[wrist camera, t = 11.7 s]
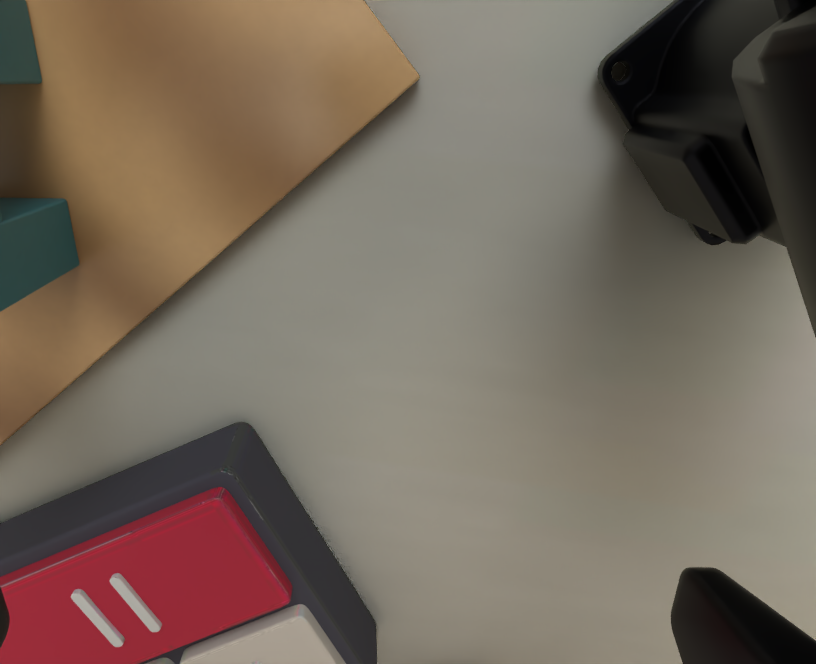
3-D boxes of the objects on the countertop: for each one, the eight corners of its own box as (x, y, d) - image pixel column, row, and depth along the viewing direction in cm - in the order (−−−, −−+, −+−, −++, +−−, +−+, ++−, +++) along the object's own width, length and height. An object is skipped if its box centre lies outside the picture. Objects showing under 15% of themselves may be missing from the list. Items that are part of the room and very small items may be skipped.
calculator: (382, 713, 21) (19, 846, 23) (379, 615, 25) (71, 733, 27) (224, 479, 17) (-206, 659, 19) (250, 407, 21) (-105, 559, 23)
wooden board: (70, -398, 13) (54, -419, 12) (420, 77, 17) (421, 77, 16) (-374, 200, 17) (-399, 203, 17) (-22, 464, 21) (-33, 474, 21)
